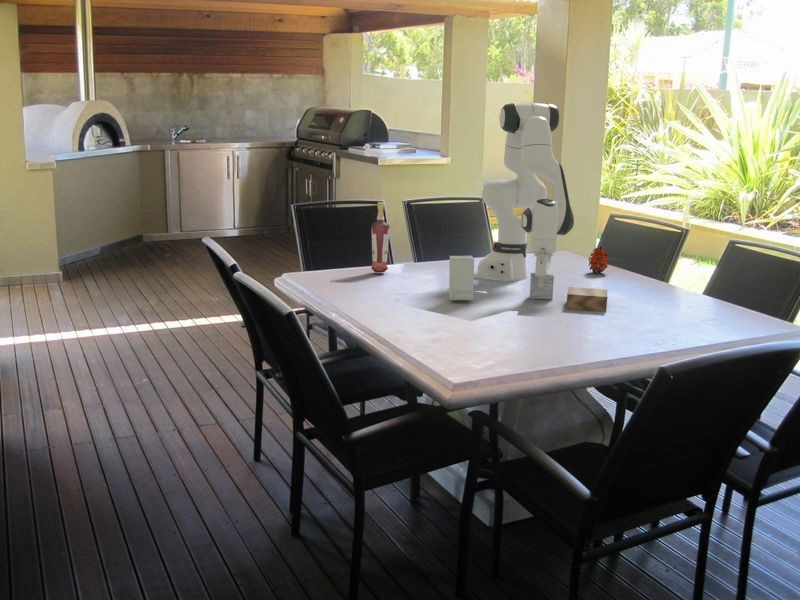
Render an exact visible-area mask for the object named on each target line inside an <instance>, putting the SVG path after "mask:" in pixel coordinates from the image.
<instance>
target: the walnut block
mask: <svg viewBox="0 0 800 600" xmlns="http://www.w3.org/2000/svg"><path fill="white" fill-rule="evenodd" d="M565 306H566V310H575V311H577V310H579V311H589V312H590V311H591V312H592V311H593V312H594V311H595V312H607V306H608V289H603V288H590V287H577V286H576V287H575V286H569V287H568V291H567V294H566V305H565Z"/></svg>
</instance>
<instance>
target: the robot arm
mask: <svg viewBox="0 0 800 600" xmlns="http://www.w3.org/2000/svg"><path fill="white" fill-rule="evenodd" d="M499 124H500V128H501V129H502V130H503V131H504V132H507V134H506V136H505V137H506V138H505V144H504V145H505V146H504V147H505V148H504V156H503V164H504V166H505V168H506V169H508V170H509V171H510V172H513V173H515V174H516V179H503V178H502V179H493V180H489V181H487V182H486V183H484V185H483V187H482V188H481V198H482V201H483V202H484V204H485V205H486V206H488V208H489V209H490V210H491V211H492V212H493V214H494V215H495V218H496V221H497V230H498V231H497V236H498V237H497V241H496V240H495V241H493V243H492V251H491V252H489V253H488V254H486V255H485V256H484V257H483V258H481V259H480V260H479V262H478V264H477V268H476V270H474V279H483V280H493V281H502V282H514V281H523V280H526V279H529V275H528V270H527V261H526V260H527V254H528V243H527V233H528V234H532V235H531V241H530V242H531V244H530V251H531V252H533V253H534V255H533V256H534V257H535V258H536V259H535V272H534V273H535V276H536V277H538V287H543V286H544V278H545V277H546V274H547V273H549V269H550V266H551V260H552V258H553V254H555V253H557V251H558V250H557V248H558V236H565V235H567V234H569V233H570V232H571V230H572V229H573V228H574V224H575V220H574V219H575V217H574V214H573V210H572V206H571V202H570V198H569V192H568V187H567V181H566V178H565V177H566V175H565V172H564V169H563V166H562V164H561V162H559V161H557V159H556V158H555V155H554V152H553V139H552V132H554V131H556V129H558V126H559V124H560V111H559V108H558V107H557V106H556V105H555V104H552V103H543V102H542V103H540V102H521V103H513V102H510V103H506V104H504V106H502V108H501V110H500V113H499ZM538 176H540V177H543V178H545V179H546V180H548V182H550V184H551V185H552V189H553V194H554V199H553V200H552V199H549V198H548V190H547V187H546V185H545V184H544V182H542V180H540V179H539V177H538ZM515 208H516V209H517V208H520V209H521V208H523V209H525V210H524V211H523V212H522V213H521V217H519V216H517V215H515V214H514V209H515Z"/></svg>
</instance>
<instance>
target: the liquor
mask: <svg viewBox="0 0 800 600" xmlns="http://www.w3.org/2000/svg"><path fill="white" fill-rule="evenodd" d="M376 207H377V217H376V221H374V222H373V223H371V227H370V228H371V231H370V232H371V260H372V261H371V262H372V263H371V268H370V269H371V270H372V271H373V272H375V273H385V272H386V271H387V270H389V268H388V253H389V252H388V251H389V240H390V239H389V238H390V224H389V223H388V222H386V221H385V215H384V209H385V202H384V201H377V205H376Z"/></svg>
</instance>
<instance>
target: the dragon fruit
mask: <svg viewBox="0 0 800 600" xmlns="http://www.w3.org/2000/svg"><path fill="white" fill-rule="evenodd" d="M609 263H610V260H609V254H608V252H606V251H605V249H604V248H603V247H602V246H601V245H599V246H598V247H595V248H594V249H593V250H592V253H590V256H588V266H589V270H590V271H592V273H596V274H597V273H600V274H601V273H603V272H604V271H605V270H606V269H607V268H608V266H609Z"/></svg>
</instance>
